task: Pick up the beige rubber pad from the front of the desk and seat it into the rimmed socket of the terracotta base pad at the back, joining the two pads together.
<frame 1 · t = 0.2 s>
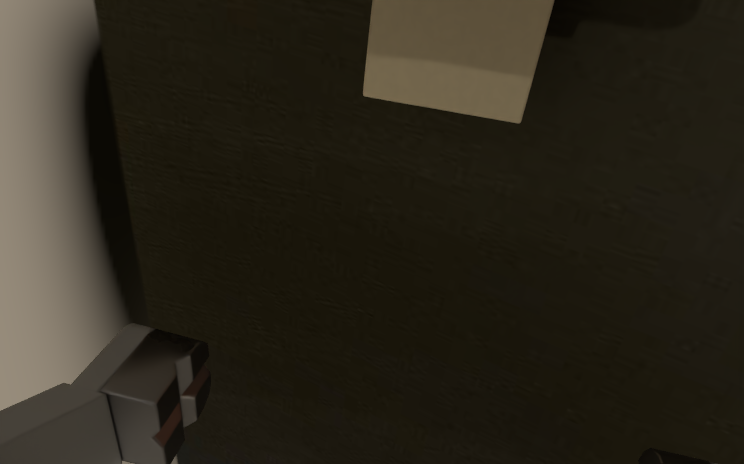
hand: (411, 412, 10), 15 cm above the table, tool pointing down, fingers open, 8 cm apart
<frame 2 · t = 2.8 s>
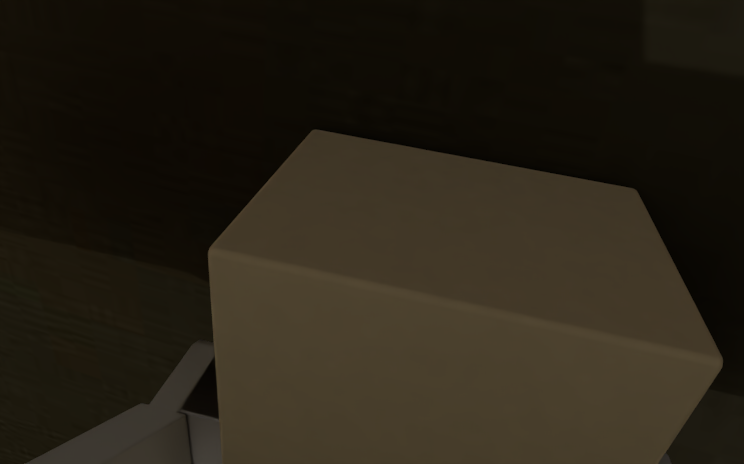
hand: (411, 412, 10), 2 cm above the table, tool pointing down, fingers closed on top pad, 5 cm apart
top pad: (425, 348, 11), on the table, touching gripper
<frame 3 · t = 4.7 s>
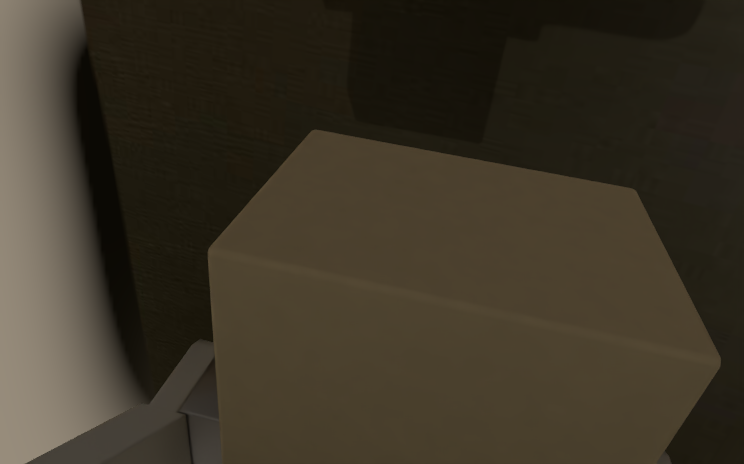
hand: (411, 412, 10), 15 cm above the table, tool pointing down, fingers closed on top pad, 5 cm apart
top pad: (424, 348, 11), point 13 cm above the table, touching gripper
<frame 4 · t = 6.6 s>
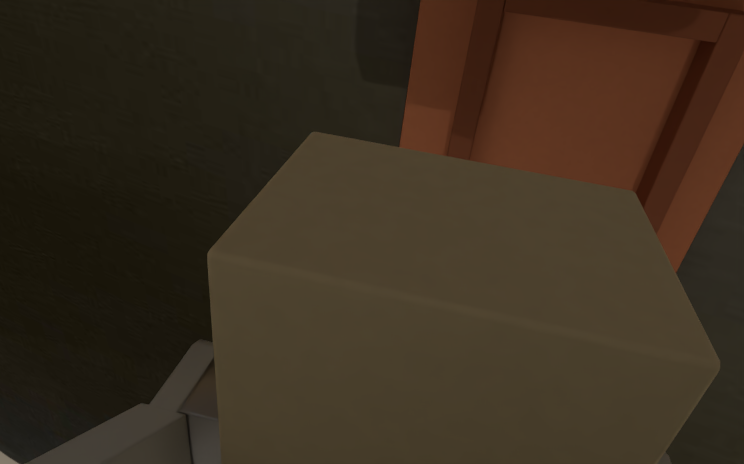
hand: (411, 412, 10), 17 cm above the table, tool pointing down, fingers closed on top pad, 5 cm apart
base pad: (555, 143, 24), on the table
top pad: (424, 350, 11), point 15 cm above the table, touching gripper
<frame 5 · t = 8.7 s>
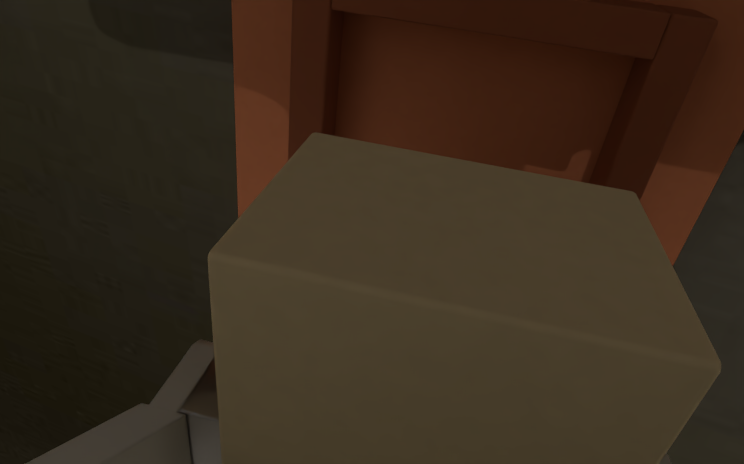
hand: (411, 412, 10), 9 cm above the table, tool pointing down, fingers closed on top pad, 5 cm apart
base pad: (449, 194, 17), on the table
top pad: (424, 350, 11), point 7 cm above the table, touching gripper
when the fingers open (3 cm above the table, at t = 10.7 s): top pad stays where it is, resting on base pad.
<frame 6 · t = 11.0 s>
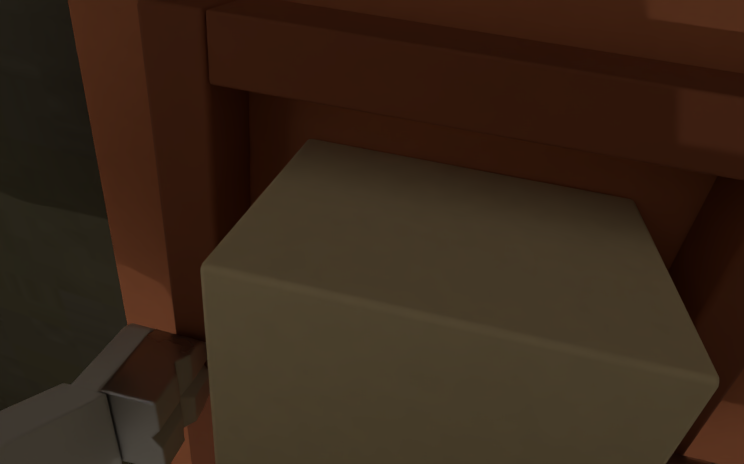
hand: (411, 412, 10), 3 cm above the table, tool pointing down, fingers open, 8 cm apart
base pad: (426, 322, 12), on the table
top pad: (422, 357, 11), point 1 cm above the table, touching base pad
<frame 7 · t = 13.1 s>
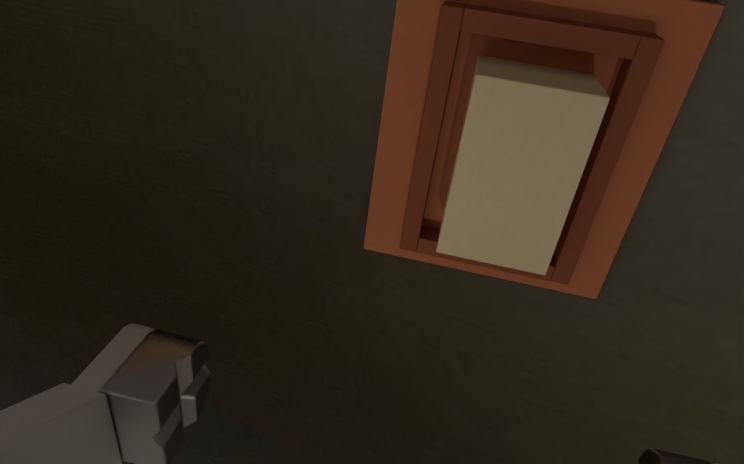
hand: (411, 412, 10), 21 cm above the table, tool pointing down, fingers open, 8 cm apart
base pad: (511, 142, 28), on the table
top pad: (511, 151, 27), point 1 cm above the table, touching base pad
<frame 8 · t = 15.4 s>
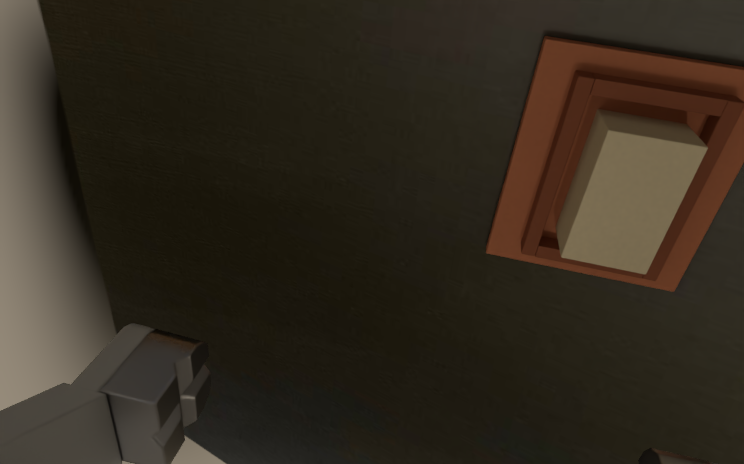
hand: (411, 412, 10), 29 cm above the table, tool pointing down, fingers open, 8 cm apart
base pad: (613, 171, 36), on the table
top pad: (616, 179, 35), point 1 cm above the table, touching base pad
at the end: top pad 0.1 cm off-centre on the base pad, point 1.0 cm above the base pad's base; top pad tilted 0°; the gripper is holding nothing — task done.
